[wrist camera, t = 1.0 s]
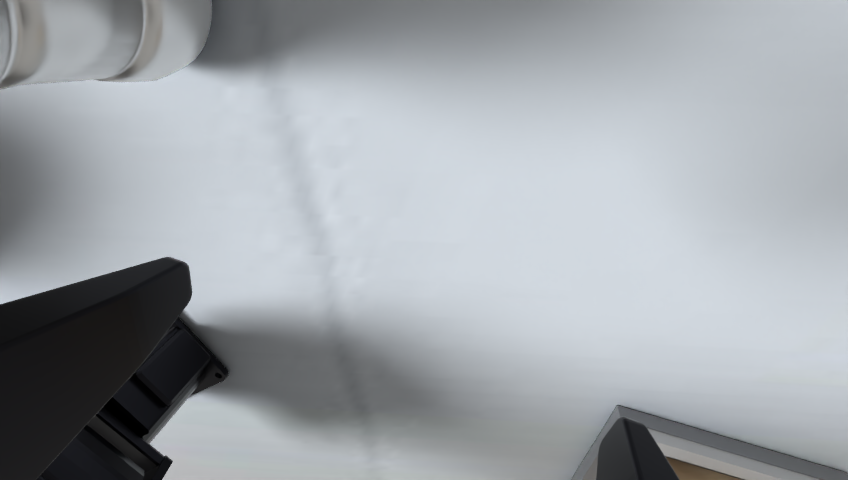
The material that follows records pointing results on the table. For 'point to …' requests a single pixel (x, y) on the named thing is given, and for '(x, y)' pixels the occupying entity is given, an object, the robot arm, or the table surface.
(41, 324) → the robot arm
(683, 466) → the plate
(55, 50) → the plastic bottle
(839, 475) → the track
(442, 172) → the table surface
